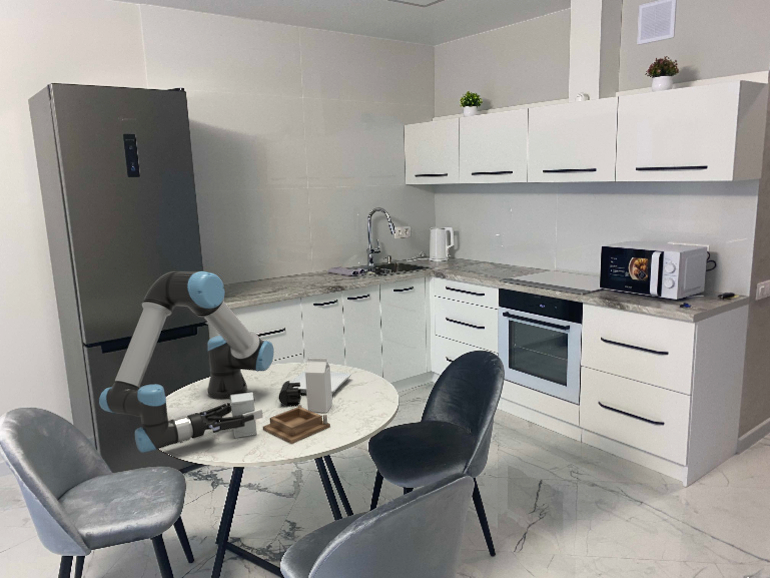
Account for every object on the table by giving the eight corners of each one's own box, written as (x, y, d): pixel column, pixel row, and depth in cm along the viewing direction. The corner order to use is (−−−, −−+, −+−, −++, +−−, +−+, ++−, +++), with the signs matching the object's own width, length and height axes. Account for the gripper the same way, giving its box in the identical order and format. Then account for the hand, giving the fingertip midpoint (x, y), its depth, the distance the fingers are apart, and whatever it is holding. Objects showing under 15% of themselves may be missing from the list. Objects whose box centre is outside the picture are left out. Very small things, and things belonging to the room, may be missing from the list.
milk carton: (326, 413, 207) (323, 362, 204) (307, 412, 209) (304, 361, 205) (332, 405, 214) (329, 355, 210) (314, 404, 216) (310, 355, 212)
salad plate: (333, 399, 221) (332, 390, 220) (282, 395, 227) (282, 386, 226) (353, 380, 240) (352, 372, 240) (306, 376, 247) (305, 369, 246)
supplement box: (234, 439, 190) (230, 402, 187) (233, 429, 197) (229, 394, 194) (257, 435, 192) (254, 399, 189) (255, 426, 198) (252, 391, 196)
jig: (262, 429, 195) (261, 418, 195) (301, 414, 207) (300, 403, 206) (291, 443, 184) (290, 431, 184) (330, 427, 195) (329, 415, 195)
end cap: (282, 397, 224) (281, 380, 223) (301, 396, 224) (300, 379, 223) (279, 407, 214) (277, 390, 213) (298, 406, 214) (297, 389, 213)
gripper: (179, 427, 192) (244, 409, 205) (201, 451, 174) (270, 430, 187) (177, 405, 191) (242, 389, 203) (199, 427, 173) (268, 408, 186)
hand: (255, 408), depth 195 cm, fingers open, 9 cm apart
